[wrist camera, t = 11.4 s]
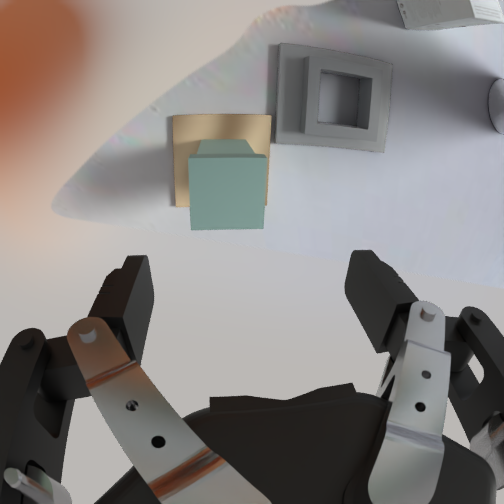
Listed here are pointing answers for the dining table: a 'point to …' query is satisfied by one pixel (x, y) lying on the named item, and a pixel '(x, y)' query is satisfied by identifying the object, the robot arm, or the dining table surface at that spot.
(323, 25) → the dining table surface
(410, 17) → the skincare box
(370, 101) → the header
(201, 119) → the cork pad
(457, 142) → the dining table surface
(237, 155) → the plug
